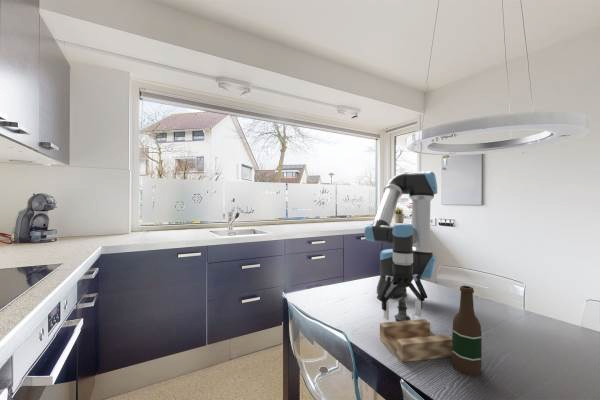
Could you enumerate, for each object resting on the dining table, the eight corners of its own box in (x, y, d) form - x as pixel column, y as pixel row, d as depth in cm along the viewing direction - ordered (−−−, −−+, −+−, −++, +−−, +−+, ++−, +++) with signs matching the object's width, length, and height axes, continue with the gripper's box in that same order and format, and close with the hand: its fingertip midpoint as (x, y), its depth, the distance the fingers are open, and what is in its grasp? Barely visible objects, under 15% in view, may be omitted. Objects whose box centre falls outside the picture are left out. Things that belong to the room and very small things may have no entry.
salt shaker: (391, 324, 106) (391, 294, 106) (402, 321, 108) (402, 292, 108) (401, 331, 100) (401, 299, 100) (413, 328, 102) (413, 297, 102)
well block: (424, 333, 98) (424, 319, 98) (454, 356, 84) (454, 339, 84) (379, 338, 95) (379, 322, 95) (402, 362, 81) (402, 344, 81)
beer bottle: (487, 370, 78) (487, 288, 77) (475, 380, 73) (475, 293, 73) (458, 357, 84) (458, 281, 84) (446, 365, 79) (446, 285, 79)
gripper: (425, 259, 110) (424, 311, 110) (368, 261, 106) (368, 315, 105) (437, 264, 103) (437, 319, 102) (377, 266, 98) (377, 323, 98)
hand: (402, 317), depth 104 cm, fingers open, 13 cm apart
